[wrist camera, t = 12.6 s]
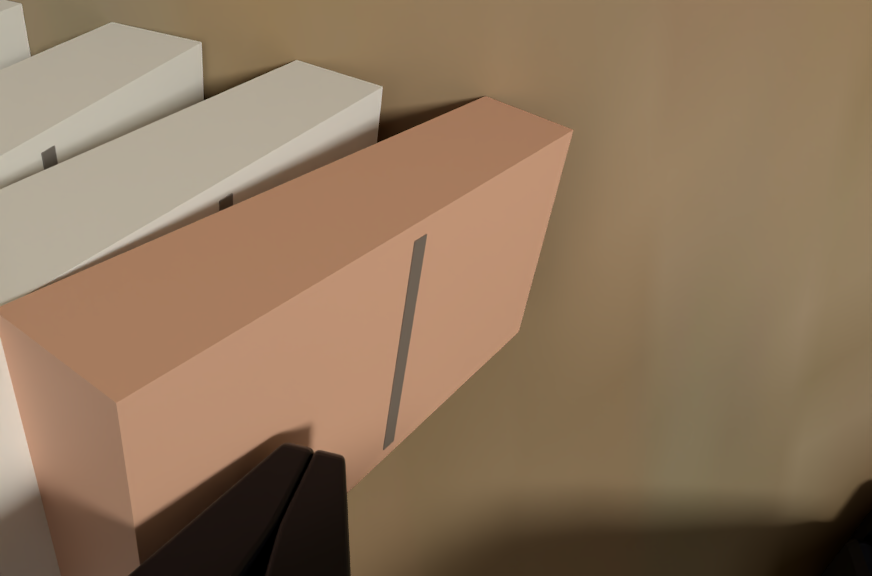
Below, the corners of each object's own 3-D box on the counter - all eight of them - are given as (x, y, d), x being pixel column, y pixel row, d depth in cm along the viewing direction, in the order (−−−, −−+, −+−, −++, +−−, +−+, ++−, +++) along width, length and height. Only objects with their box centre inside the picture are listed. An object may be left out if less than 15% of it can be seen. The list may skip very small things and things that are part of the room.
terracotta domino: (574, 130, 14) (118, 404, 7) (519, 332, 17) (157, 674, 10) (484, 96, 15) (-8, 309, 8) (446, 294, 18) (62, 583, 11)
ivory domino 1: (202, 42, 15) (-294, 323, 7) (210, 245, 18) (-137, 613, 10) (111, 21, 15) (-475, 272, 7) (133, 226, 18) (-269, 570, 10)
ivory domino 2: (384, 86, 15) (-112, 376, 7) (361, 289, 17) (-5, 657, 10) (295, 59, 15) (-258, 300, 7) (288, 261, 18) (-114, 587, 10)
